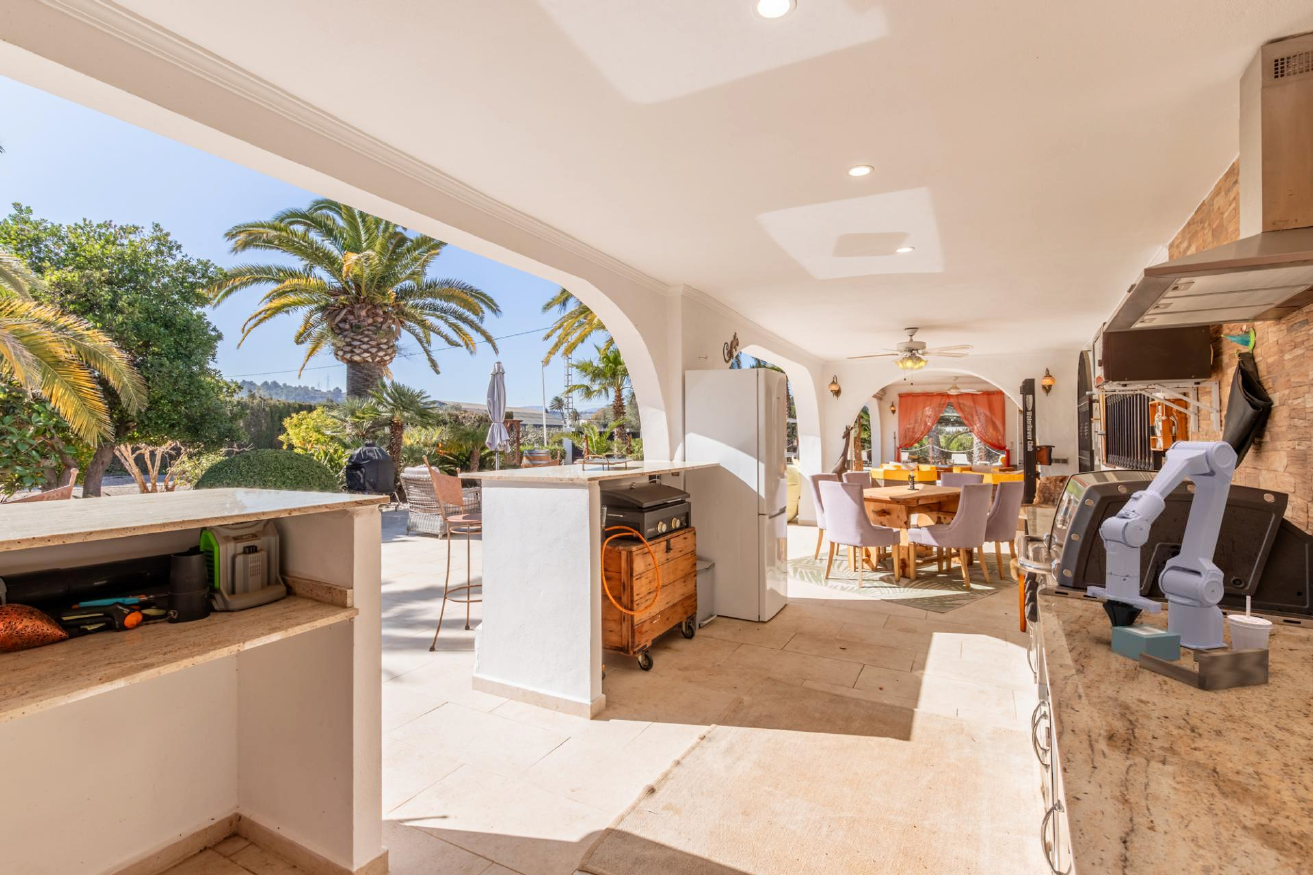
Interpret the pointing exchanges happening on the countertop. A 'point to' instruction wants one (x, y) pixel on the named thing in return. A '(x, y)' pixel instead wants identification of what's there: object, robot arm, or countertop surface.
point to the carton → (1145, 642)
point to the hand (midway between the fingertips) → (1121, 637)
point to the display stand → (1215, 668)
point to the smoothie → (1248, 630)
